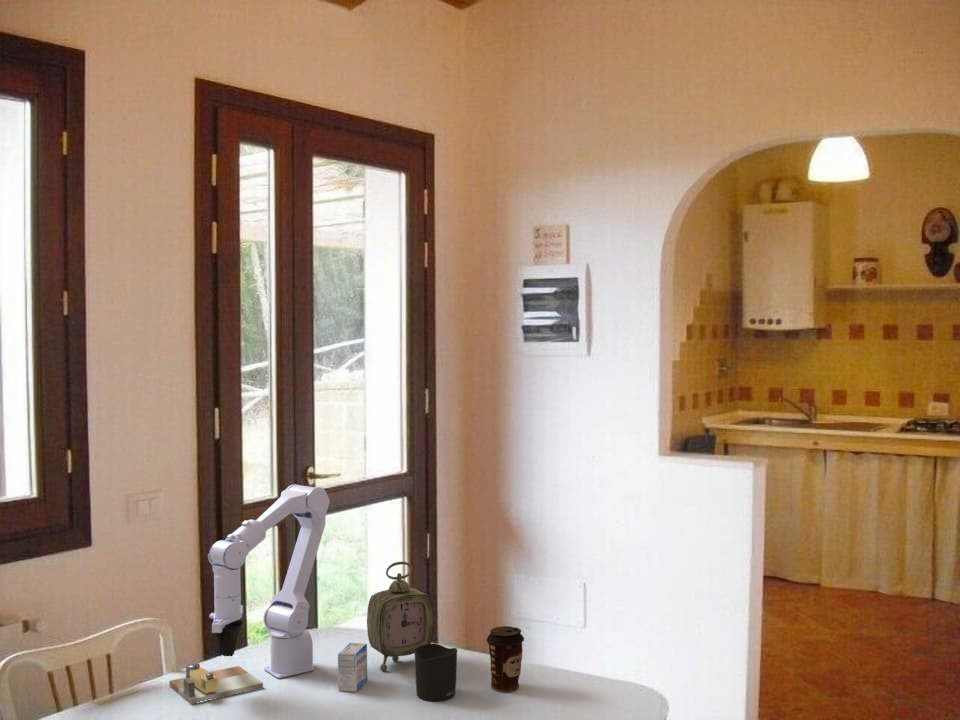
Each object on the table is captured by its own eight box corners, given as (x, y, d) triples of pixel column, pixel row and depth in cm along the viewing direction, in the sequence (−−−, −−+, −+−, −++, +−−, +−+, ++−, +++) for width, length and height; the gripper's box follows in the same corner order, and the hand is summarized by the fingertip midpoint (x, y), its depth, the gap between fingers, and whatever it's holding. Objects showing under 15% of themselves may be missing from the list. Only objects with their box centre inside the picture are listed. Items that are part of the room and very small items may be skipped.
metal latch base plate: (238, 670, 226) (238, 653, 226) (263, 688, 215) (262, 669, 215) (169, 686, 216) (169, 667, 216) (191, 704, 205) (191, 685, 205)
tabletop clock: (379, 675, 223) (378, 569, 222) (364, 663, 231) (363, 561, 230) (434, 664, 230) (433, 561, 230) (417, 653, 238) (417, 554, 238)
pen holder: (419, 704, 205) (419, 658, 204) (411, 689, 214) (410, 645, 213) (461, 700, 207) (461, 654, 207) (451, 685, 216) (451, 641, 216)
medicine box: (356, 692, 212) (356, 654, 212) (337, 691, 213) (337, 653, 212) (367, 680, 220) (367, 643, 219) (349, 679, 220) (349, 642, 220)
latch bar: (183, 679, 215) (183, 663, 215) (196, 676, 217) (196, 660, 217) (205, 693, 207) (205, 677, 207) (218, 690, 209) (218, 674, 209)
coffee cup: (530, 684, 216) (530, 627, 216) (516, 696, 209) (516, 638, 209) (495, 678, 220) (495, 623, 220) (480, 690, 213) (480, 633, 212)
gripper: (221, 585, 219) (222, 644, 220) (197, 603, 205) (198, 666, 205) (251, 586, 219) (252, 644, 219) (229, 604, 204) (230, 666, 205)
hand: (228, 655), depth 212 cm, fingers closed
